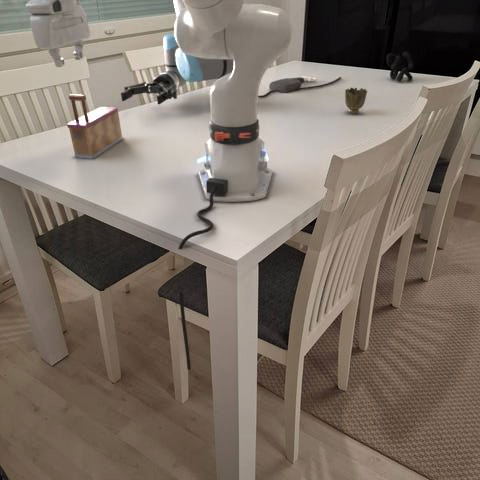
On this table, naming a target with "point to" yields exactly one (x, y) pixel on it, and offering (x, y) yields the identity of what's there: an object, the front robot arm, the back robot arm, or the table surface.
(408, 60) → the squiggle
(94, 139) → the chest
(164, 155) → the table surface
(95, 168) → the table surface
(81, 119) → the lid
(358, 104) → the cup
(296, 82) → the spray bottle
